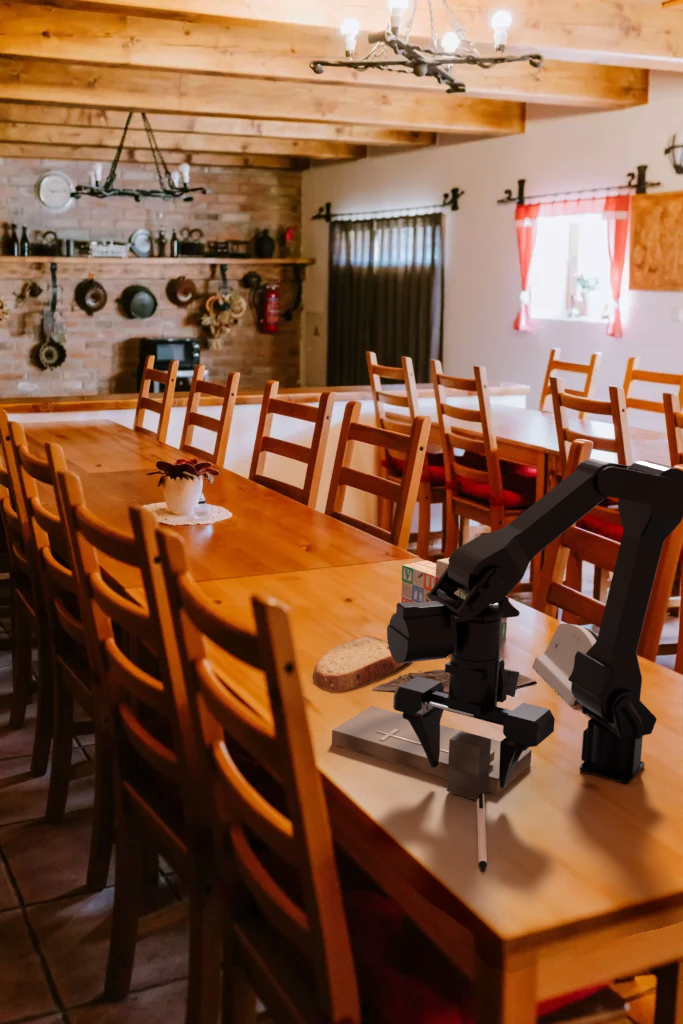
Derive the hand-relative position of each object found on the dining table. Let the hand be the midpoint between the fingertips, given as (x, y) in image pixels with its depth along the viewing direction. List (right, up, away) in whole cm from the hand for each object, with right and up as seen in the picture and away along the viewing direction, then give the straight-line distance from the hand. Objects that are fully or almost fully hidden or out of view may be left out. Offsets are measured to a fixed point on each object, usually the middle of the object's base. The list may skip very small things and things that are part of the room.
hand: (468, 776), depth 130 cm
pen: (+1, -5, -8) cm, 9 cm away
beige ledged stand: (+21, +5, +37) cm, 42 cm away
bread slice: (-12, +7, +42) cm, 44 cm away
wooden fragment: (+2, +5, +35) cm, 36 cm away
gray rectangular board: (-4, 0, +11) cm, 12 cm away
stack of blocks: (+4, +11, +64) cm, 65 cm away
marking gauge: (+1, -2, +2) cm, 3 cm away
